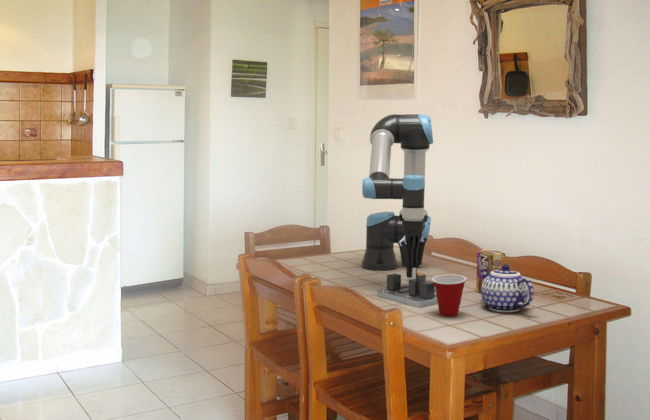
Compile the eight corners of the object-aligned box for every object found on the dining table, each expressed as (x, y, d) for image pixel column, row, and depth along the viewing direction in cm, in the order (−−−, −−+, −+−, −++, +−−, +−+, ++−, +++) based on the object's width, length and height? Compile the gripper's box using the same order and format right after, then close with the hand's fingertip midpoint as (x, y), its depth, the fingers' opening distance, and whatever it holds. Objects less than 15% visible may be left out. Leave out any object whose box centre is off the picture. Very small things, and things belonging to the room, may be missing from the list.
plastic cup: (423, 312, 224) (424, 275, 223) (450, 308, 229) (451, 272, 228) (445, 320, 215) (446, 282, 213) (472, 316, 220) (473, 279, 219)
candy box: (500, 295, 247) (502, 253, 245) (491, 297, 245) (492, 254, 243) (484, 290, 255) (486, 249, 253) (475, 291, 253) (476, 250, 251)
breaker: (419, 287, 250) (419, 272, 249) (425, 288, 248) (425, 273, 247) (411, 288, 247) (411, 273, 247) (417, 290, 245) (418, 275, 244)
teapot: (548, 315, 222) (550, 270, 220) (510, 321, 215) (513, 274, 213) (497, 297, 244) (498, 256, 242) (462, 301, 238) (463, 259, 236)
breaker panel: (415, 288, 258) (416, 269, 257) (458, 298, 243) (459, 278, 242) (377, 296, 245) (377, 276, 244) (419, 307, 230) (420, 286, 229)
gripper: (417, 216, 249) (415, 281, 252) (392, 219, 241) (390, 286, 244) (433, 219, 243) (431, 285, 246) (408, 222, 235) (406, 290, 238)
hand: (411, 285), depth 245 cm, fingers closed
